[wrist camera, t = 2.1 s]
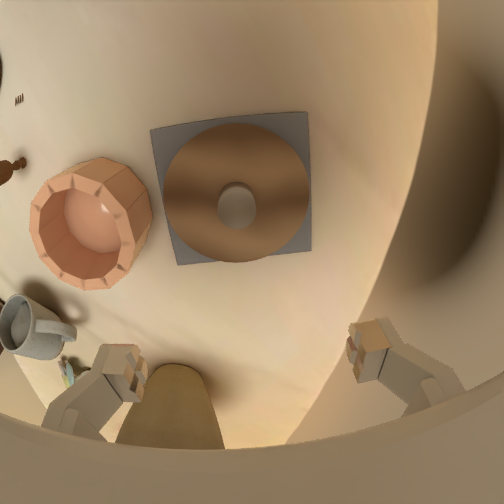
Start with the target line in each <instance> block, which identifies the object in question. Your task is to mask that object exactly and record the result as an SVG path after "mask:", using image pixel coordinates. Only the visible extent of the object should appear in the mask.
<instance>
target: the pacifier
mask: <svg viewBox="0 0 504 504" xmlns="http://www.w3.org/2000/svg"><path fill="white" fill-rule="evenodd" d="M58 364H59V367H60V370H61V372H62V378H63V380H64V383H65V385H66V387H67V389H68V388H69V387H70V386H71V385H73V384H74V383H75V382H76V381H77V380H79V379H80V378H81V377H82V376H83V375H85V374H86V373H90V371H84V372H82V373H81V374H80V375H78V376H75V377H74V374H73V369H72V366H71V364H70V363H66V372H65V369H64V367H63V365H62V363H61V362H60V361H58Z"/></svg>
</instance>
